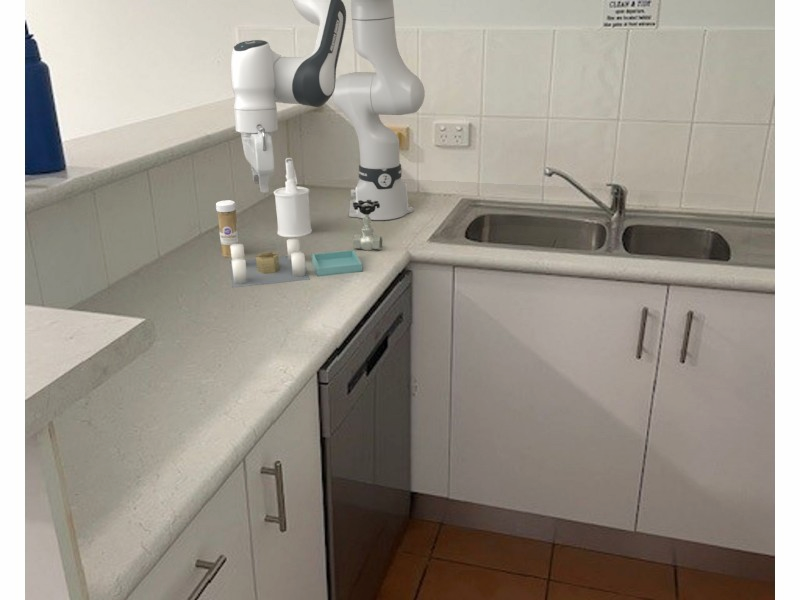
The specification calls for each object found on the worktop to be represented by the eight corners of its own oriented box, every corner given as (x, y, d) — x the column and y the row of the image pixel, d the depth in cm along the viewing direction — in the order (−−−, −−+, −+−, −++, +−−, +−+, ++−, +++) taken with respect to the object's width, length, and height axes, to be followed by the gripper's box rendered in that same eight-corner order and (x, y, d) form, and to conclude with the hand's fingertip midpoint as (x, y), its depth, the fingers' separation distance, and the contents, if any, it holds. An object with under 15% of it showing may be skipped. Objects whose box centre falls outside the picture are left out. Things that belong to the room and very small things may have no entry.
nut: (256, 268, 168) (255, 253, 166) (278, 265, 169) (277, 251, 167) (258, 274, 164) (256, 259, 162) (280, 272, 165) (279, 257, 164)
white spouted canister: (275, 229, 196) (268, 156, 188) (309, 226, 198) (303, 153, 191) (280, 241, 187) (273, 164, 179) (315, 237, 189) (310, 161, 181)
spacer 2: (233, 279, 161) (231, 258, 159) (247, 278, 162) (245, 257, 160) (234, 284, 158) (231, 263, 156) (248, 283, 159) (245, 262, 157)
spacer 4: (291, 273, 164) (290, 252, 162) (305, 271, 165) (303, 251, 163) (293, 277, 162) (291, 256, 160) (306, 276, 162) (305, 255, 160)
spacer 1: (232, 264, 170) (230, 244, 169) (245, 263, 171) (243, 243, 169) (232, 268, 168) (230, 248, 166) (245, 267, 168) (243, 246, 166)
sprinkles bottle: (223, 259, 175) (216, 205, 169) (221, 253, 179) (214, 200, 173) (242, 257, 176) (236, 203, 171) (239, 251, 180) (233, 198, 175)
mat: (230, 262, 172) (230, 261, 172) (301, 255, 176) (301, 254, 176) (232, 288, 157) (232, 287, 157) (310, 280, 161) (310, 279, 161)
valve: (378, 255, 175) (376, 207, 171) (351, 254, 177) (349, 206, 172) (384, 246, 181) (382, 200, 177) (358, 245, 183) (356, 199, 178)
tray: (312, 262, 171) (311, 254, 171) (354, 258, 174) (353, 249, 173) (317, 277, 162) (317, 268, 161) (362, 272, 164) (361, 264, 164)
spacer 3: (287, 258, 173) (285, 238, 171) (300, 257, 174) (298, 237, 172) (288, 262, 171) (287, 242, 169) (301, 261, 171) (300, 241, 169)
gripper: (279, 127, 144) (283, 196, 149) (264, 116, 162) (268, 178, 167) (247, 129, 142) (252, 198, 147) (235, 117, 160) (240, 179, 165)
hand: (261, 187), depth 157 cm, fingers open, 8 cm apart
